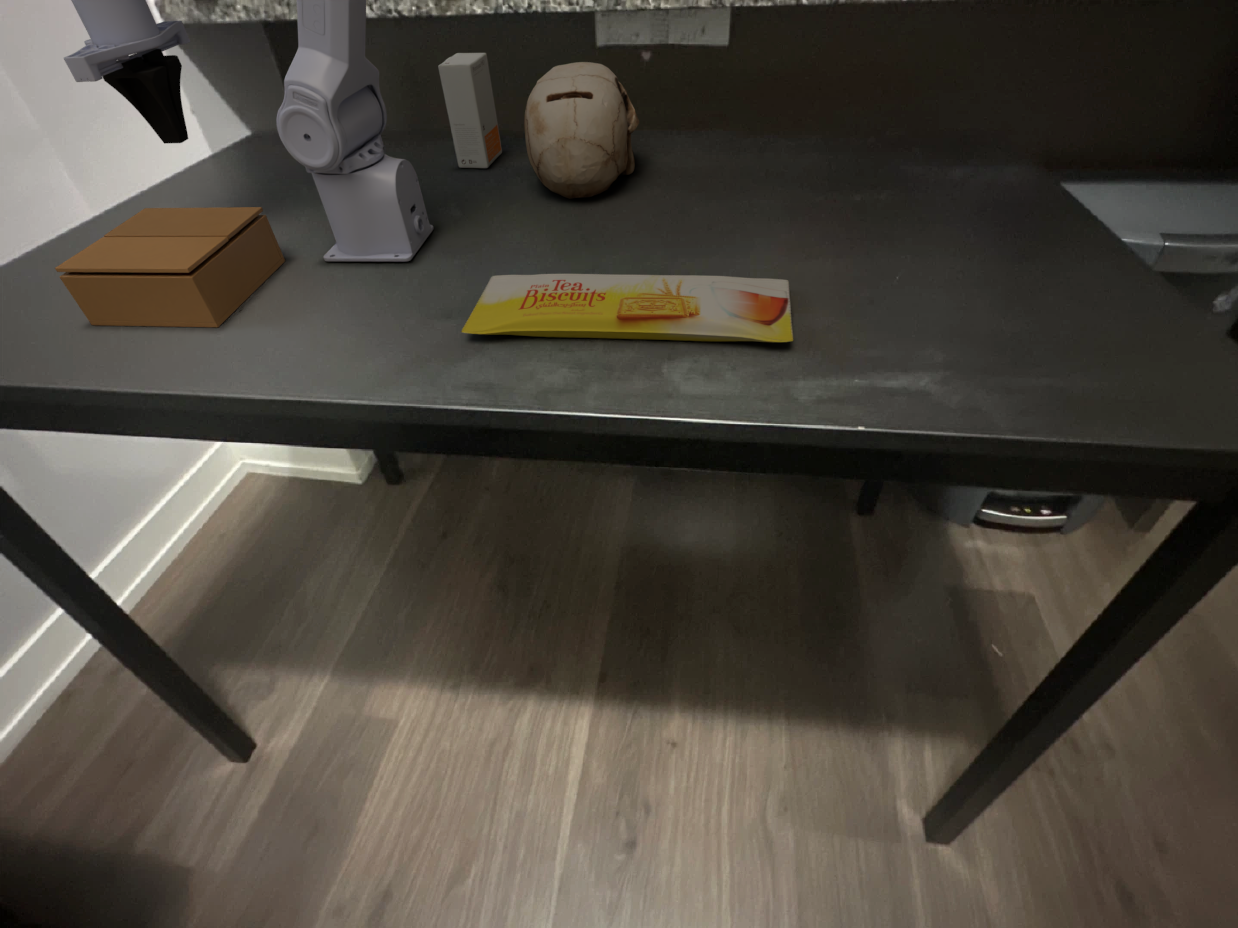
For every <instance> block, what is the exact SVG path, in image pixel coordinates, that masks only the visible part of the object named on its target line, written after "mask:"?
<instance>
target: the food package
mask: <svg viewBox="0 0 1238 928" xmlns="http://www.w3.org/2000/svg"><path fill="white" fill-rule="evenodd" d="M790 292H791V291H790V282H789V280H787V279H781V278H779V279H778V278H762V277H761V278H759V277H756V278H755V277H739V276H726V275H701V274H700V275H697V274H696V275H695V274H693V275H692V274H691V275H686V274H685V275H682V274H678V275H677V274H674V275H673V274H670V275H669V274H607V273H606V274H605V273H604V274H603V273H602V274H601V273H599V274H598V273H539V274H502V275H500V274H499V275H491V277H490V278H489V281H488V283H487V285H486V286H485V288H484V290H483V291H482V293H481V296H480V297H479V298H478V301H477V302H476V304H475V305H474V306H475V307H473V310H472V312H471V313H470V315H469V316H468V318H467V321H465V324H464V326H463V327H462V329H461V331H460V333H463V334H470V335H471V334H472V335H483V336H484V335H485V336H487V335H491V336H492V335H494V336H495V335H496V336H497V335H500V336H501V335H504V336H508V335H509V336H522V337H541V338H579V339H580V338H582V339H583V338H585V339H588V338H589V339H616V340H617V339H618V340H655V341H656V340H657V341H659V340H660V341H661V340H662V341H666V340H667V341H684V342H685V341H686V342H760V343H789V342H793V341H794V332H793V331H794V329H793V323H792V322H793V320H792V318H793V317H792V314H791V313H792V311H791V310H792V308H791V307H792V304H791V296H790V295H791V293H790Z"/></svg>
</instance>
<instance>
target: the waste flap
mask: <svg viewBox="0 0 1238 928" xmlns="http://www.w3.org/2000/svg"><path fill="white" fill-rule="evenodd" d="M228 241H229V240H228V238H227V237H104V236H102V237H100V238H99V239H97V240H96V241H94V242H92V243H91V244H89V245H88V246H87V247H85V248H84V249H82V250H80V251H79V252H77V253H76V254H74V255H72V256H71V257H69V258H67V260H64V261H63V262H62V263H60V264H59V265H57V266H55V267H54V269H55V271H56V272H57V273H65V272H147V273H190V272H191V271H192V270H193V269H194V268H196V267H197V266H198V265H199V264H201V263H202V262H203V261H204V260H206V259H207V258H208V257H209V256H210V255H212V254H213V253H214V252H215V251H217V250H218V249H219V248H220V247H221V246H223V245H224V244H225V243H226V242H228Z"/></svg>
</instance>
